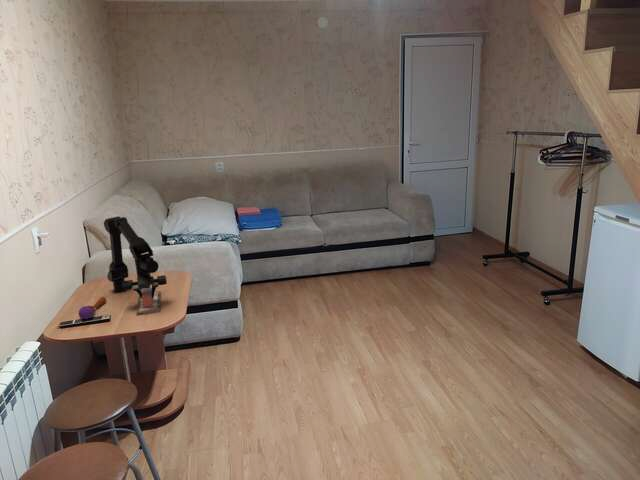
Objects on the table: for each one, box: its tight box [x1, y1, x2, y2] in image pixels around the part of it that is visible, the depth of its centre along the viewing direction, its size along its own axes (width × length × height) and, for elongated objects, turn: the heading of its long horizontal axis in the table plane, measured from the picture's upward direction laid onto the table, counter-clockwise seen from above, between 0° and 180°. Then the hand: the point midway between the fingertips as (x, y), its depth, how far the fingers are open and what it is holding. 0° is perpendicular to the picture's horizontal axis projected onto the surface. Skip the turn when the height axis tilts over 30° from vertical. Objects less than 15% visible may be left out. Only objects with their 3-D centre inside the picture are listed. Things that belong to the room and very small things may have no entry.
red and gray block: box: [142, 287, 153, 307], centre depth 217 cm, size 11×4×4 cm, turn 17°
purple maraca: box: [78, 296, 107, 320], centre depth 214 cm, size 6×6×20 cm
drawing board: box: [136, 290, 162, 316], centre depth 220 cm, size 24×10×1 cm, turn 17°
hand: (148, 299), depth 218 cm, fingers closed on red and gray block, 4 cm apart
